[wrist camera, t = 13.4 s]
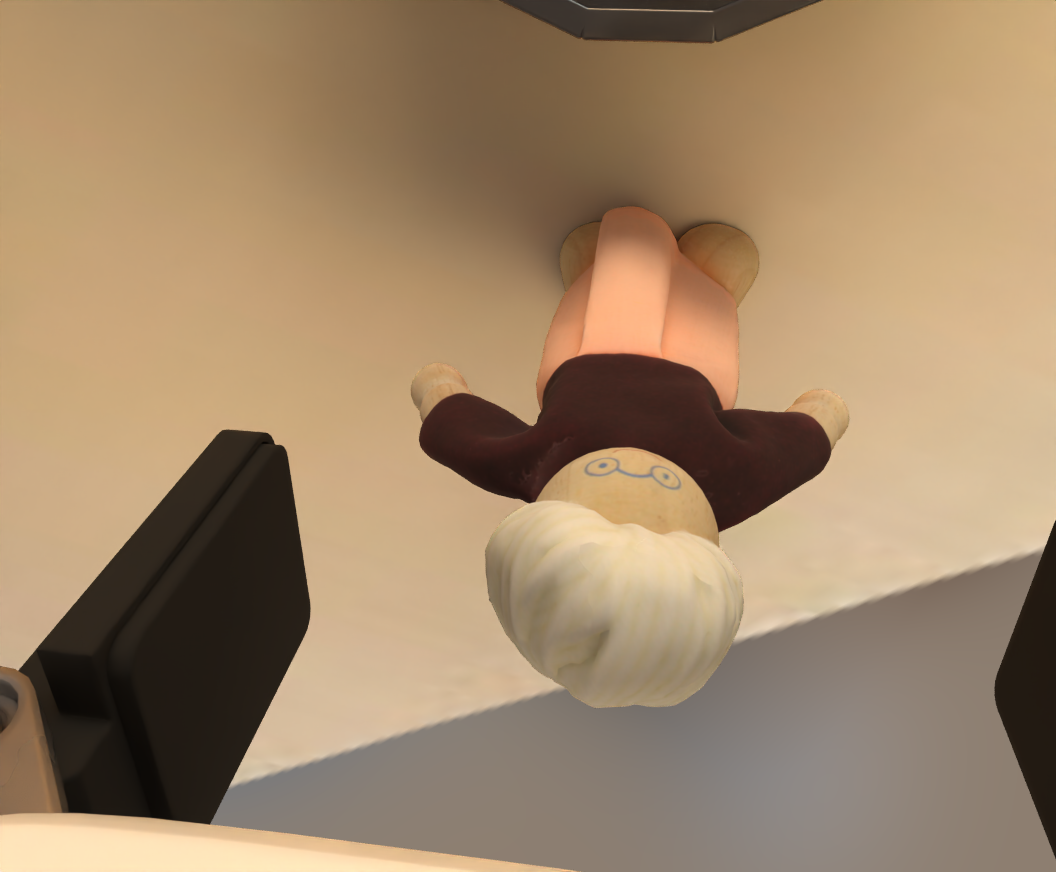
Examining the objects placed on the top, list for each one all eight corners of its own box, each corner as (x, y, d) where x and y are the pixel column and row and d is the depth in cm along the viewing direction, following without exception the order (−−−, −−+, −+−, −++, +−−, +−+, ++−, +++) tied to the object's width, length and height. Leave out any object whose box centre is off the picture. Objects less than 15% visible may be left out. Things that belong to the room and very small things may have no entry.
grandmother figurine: (801, 170, 19) (984, 504, 9) (805, 334, 21) (962, 782, 10) (454, 218, 21) (235, 555, 10) (487, 368, 23) (330, 792, 12)
